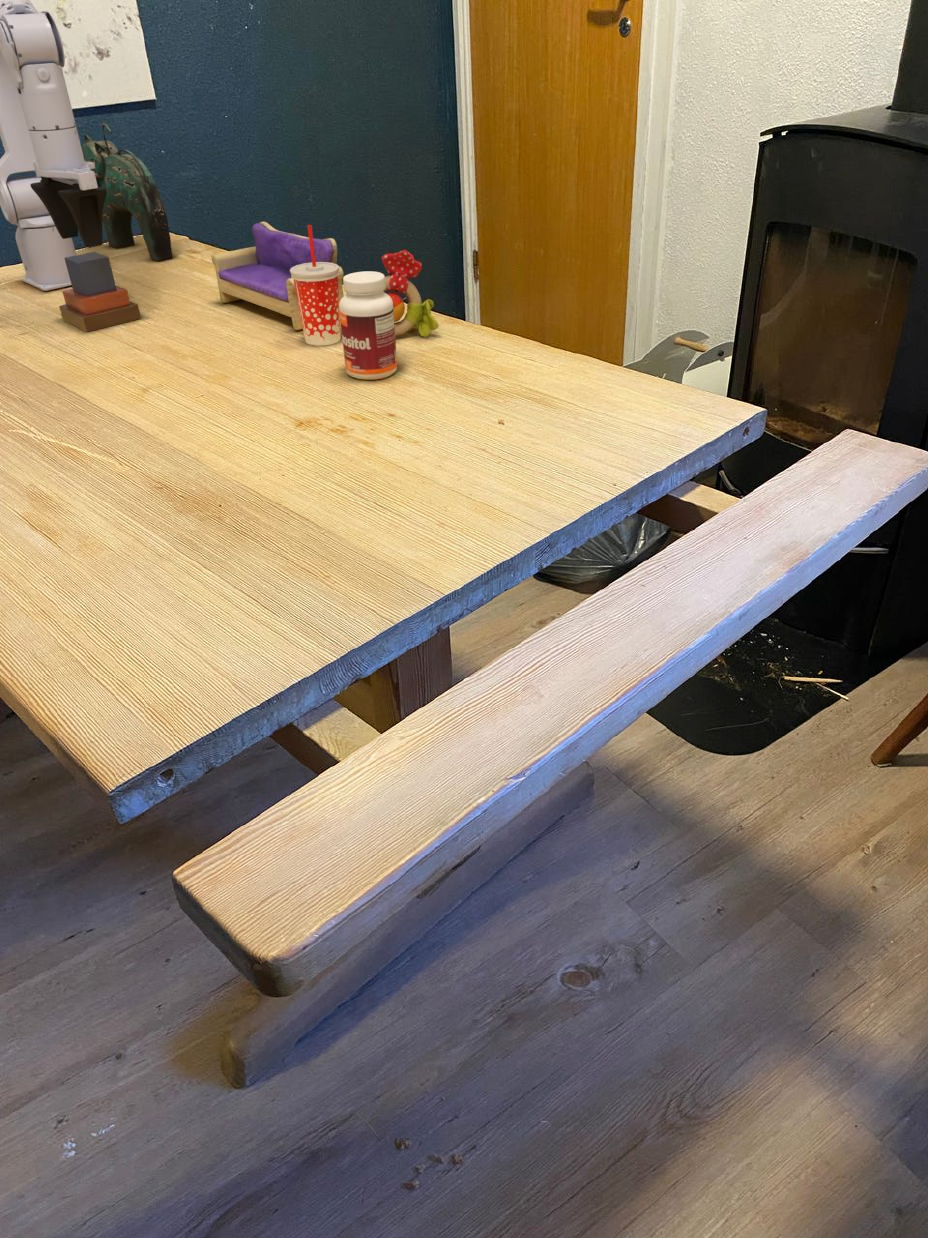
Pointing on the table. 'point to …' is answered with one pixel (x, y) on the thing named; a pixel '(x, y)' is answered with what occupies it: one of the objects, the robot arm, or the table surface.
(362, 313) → the pill bottle
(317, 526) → the table surface
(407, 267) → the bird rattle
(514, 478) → the table surface
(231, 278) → the toy sofa
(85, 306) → the stack
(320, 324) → the beverage cup
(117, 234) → the green animal figurine
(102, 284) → the cube
